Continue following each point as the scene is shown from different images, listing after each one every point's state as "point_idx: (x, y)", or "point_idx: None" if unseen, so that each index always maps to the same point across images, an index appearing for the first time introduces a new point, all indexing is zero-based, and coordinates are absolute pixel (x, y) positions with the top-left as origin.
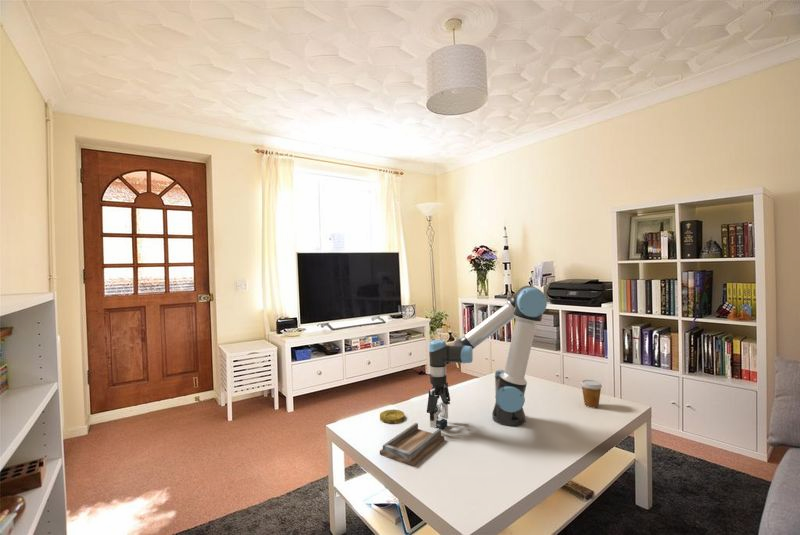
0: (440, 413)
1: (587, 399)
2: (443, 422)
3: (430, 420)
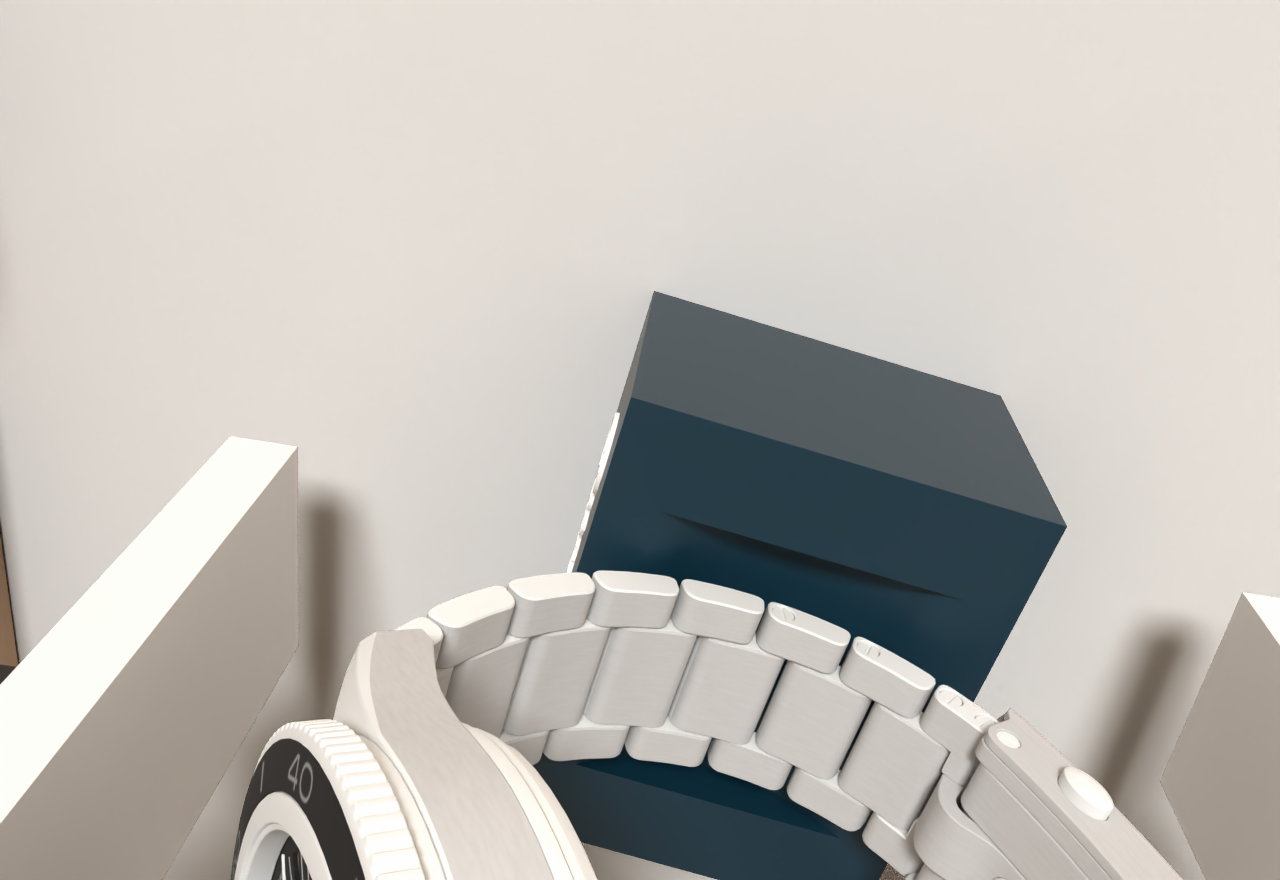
0: (1046, 805)
1: None
2: (636, 838)
3: (104, 597)
